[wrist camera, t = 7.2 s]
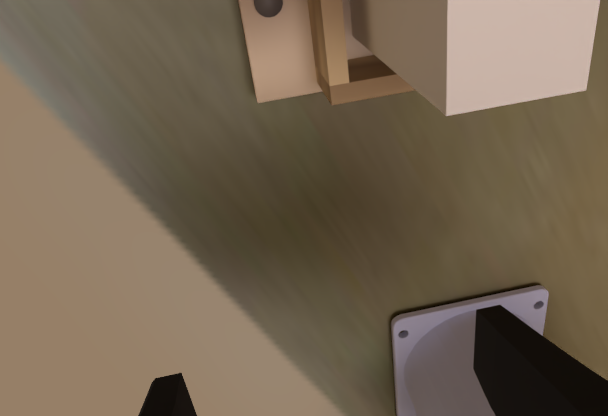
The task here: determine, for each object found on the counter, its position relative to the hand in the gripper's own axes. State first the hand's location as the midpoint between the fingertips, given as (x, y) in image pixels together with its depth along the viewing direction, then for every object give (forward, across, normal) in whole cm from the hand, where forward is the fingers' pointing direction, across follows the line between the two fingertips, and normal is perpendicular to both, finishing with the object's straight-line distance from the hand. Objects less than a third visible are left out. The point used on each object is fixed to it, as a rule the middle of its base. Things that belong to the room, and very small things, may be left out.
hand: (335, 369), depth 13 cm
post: (+9, -4, -7) cm, 12 cm away
